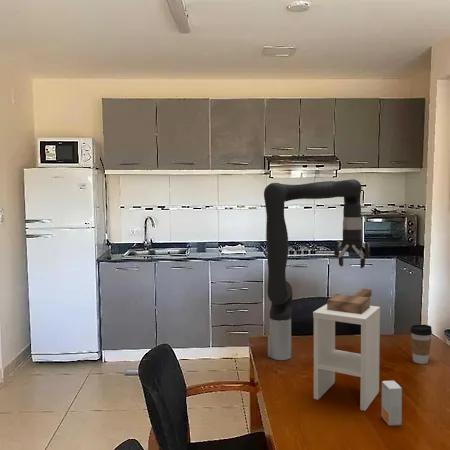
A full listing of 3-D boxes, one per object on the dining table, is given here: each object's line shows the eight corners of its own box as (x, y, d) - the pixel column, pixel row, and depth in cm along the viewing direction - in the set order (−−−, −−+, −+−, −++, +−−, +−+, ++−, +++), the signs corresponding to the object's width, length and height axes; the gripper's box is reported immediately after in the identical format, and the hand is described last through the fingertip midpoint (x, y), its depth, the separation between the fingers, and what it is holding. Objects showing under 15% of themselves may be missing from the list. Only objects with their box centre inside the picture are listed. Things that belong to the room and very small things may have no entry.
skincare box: (380, 416, 157) (381, 380, 156) (393, 416, 157) (394, 380, 156) (388, 426, 151) (389, 388, 150) (402, 425, 151) (402, 387, 150)
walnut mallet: (327, 309, 170) (327, 299, 170) (351, 293, 194) (351, 285, 193) (361, 314, 164) (361, 303, 164) (382, 297, 187) (382, 288, 187)
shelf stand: (313, 399, 170) (313, 312, 168) (331, 381, 185) (331, 300, 183) (364, 411, 161) (365, 319, 158) (379, 391, 176) (380, 306, 173)
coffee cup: (433, 365, 199) (434, 329, 198) (411, 364, 201) (412, 328, 200) (429, 358, 207) (429, 323, 206) (408, 357, 209) (408, 323, 208)
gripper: (332, 228, 201) (332, 267, 203) (366, 229, 194) (366, 269, 195) (338, 226, 208) (338, 264, 209) (372, 227, 200) (371, 267, 201)
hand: (351, 267), depth 202 cm, fingers open, 8 cm apart
